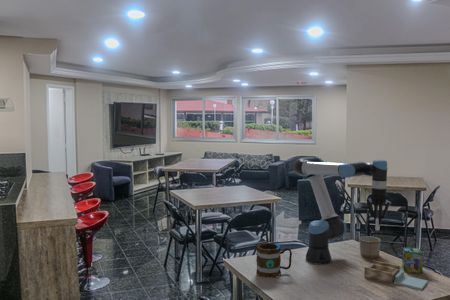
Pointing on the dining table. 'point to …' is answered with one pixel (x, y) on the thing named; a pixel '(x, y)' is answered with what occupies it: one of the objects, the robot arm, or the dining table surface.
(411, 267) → the chalk box
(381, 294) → the dining table surface
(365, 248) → the planter
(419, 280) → the cover plate
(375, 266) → the oak case
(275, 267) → the mug
